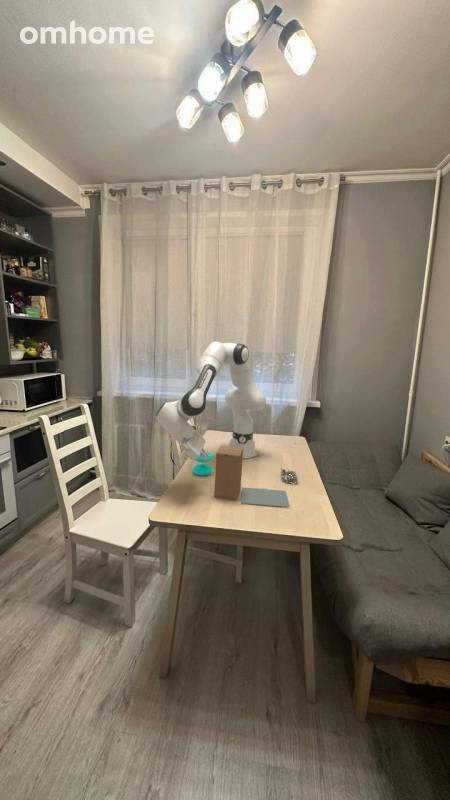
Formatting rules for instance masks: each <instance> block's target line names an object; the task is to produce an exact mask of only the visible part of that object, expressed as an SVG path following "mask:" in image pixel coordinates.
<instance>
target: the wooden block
mask: <svg viewBox="0 0 450 800" xmlns="http://www.w3.org/2000/svg"><path fill="white" fill-rule="evenodd" d="M243 460H244V458H243V448H237V447H229V445H227V446H226V445H220V447H219V449H218V450H217V451H216V453H215V475H214V491H213V494H214V495H213V496H214V497H215V498H217V499H218V498H219V499H225V500H233V501H237V500H238V498H239V495H240V493H241V490H242V475H243V474H242V473H243V472H242V470H243Z"/></svg>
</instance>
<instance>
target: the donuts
mask: <svg viewBox="0 0 450 800" xmlns="http://www.w3.org/2000/svg"><path fill="white" fill-rule="evenodd" d="M205 451H206V450H205ZM206 453H207V454H208V455H209V457H208V459H207V460H206V461H205V460H204V459H203V458H201V457H198V458H197V459H196V460H195V461H196V462H198V464H196V465H193V468H192V472H193V473H194V475H196V476H201V477H203V476H209V475H211V474H212V473H213V471H214V470H213V469H214V468H213V467H212V466H211V465H210V464H208V463H210V462H212V461H213V459H214V455H213V453H212V452H210V451H206Z"/></svg>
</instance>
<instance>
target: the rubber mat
mask: <svg viewBox="0 0 450 800" xmlns="http://www.w3.org/2000/svg"><path fill="white" fill-rule="evenodd" d="M240 494H241V495H240V504H241V505H247V506H248V505H249V506H261V507H271V508H281V507H290V508H291V506H290V502H289V499H288V494H287V491H286V490H280V489H279V490H278V489H267V488H255V487H243V486H241V489H240Z"/></svg>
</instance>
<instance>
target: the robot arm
mask: <svg viewBox="0 0 450 800" xmlns="http://www.w3.org/2000/svg"><path fill="white" fill-rule="evenodd" d="M249 355H250V351H249V349H248V347H247V345H245V344H243V343H233V342H223V343H222V342H220V341H213V342H211V343H209V345H208V346H207V347H206V348H205V349H204V351H203V353H202V354H201V355H200V358H199V360H198V362H197V365H196V369H195V370H196V373H197V374H198V377H197V379H196V381H195V383H194V385H193V387H192V388H191V390H189V391H187V393H185V394H184V395H182V396H183V397H181V398H180V399H178V400H175V401H169V402H164V403H163V404H162V405H161V406H160V407H159V408H158V410H157V412H156V413H155V414H156V415H155V416H156V419H157V420H158V422H159V423H160V424H161V426H162V427H163V428H164V429H165V430H166V431H167V432H168V433H170V434H171V437H172V438H173V439H174V440H175V441H176V442H177V443H178V444H179V446H181V447H182V451H183V452H184V453H185V454H186V455H187V457H188V459H190V460H191V461H193V462H195V461H196V459H197V458H198V457H201V458H203V459H204V460H205V461H206V460H207V459H208V457H209V455H208V454H207V453H206V450H205V447H204V446H205V444H206V439H205V438H204V437H203V435H202V434H201V433H200V432H199V431H198V429H197V427H196V426H195V425H191V424H190V423H189V422H188V421H189V420H191V419H193V418H194V417H196V416H199V415H201V414H202V413H203V412H204V411H205V409H206V404H207V395H208V392H209V390H210V388H211V386H212V384H213V381H214V380H215V379H216V377H217V376H218V375H219V373H220V372H221V370H222V367H223V365H225V366H226V365H227V366H228V368H229V373H230V374H229V375H230V379H231V383H232V385H233V386H234V387H235V388H230V389H228V390H227V391H226V392H225V395H224V398H225V402H226V404H227V405H228V406H229V408H230V410H231V412H232V414H233V415H232V416H233V430H232V438H231V439H230V440H229V445H228V446H229V447H237V448H243V459H251V458H254V457H257V456H258V453H257V451H256V449H255V447H256V446H255V445H256V441H254V439H253V438H254V432H253V431H254V430H253V428H254V419H253V417H252V416H251V415H250V414H249V412H248V410H250V411H252V412H253V411H254V412H255V411H262V410H263V409H264V408H265V407H266V403H267V398H266V396H265V394H264V393H262V392H261V391H260V390H259V389H258V387H257V386H256V385H255V383H254V380H253V378H252V377H253V376H252V374H251V368H250V362H249Z"/></svg>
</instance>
